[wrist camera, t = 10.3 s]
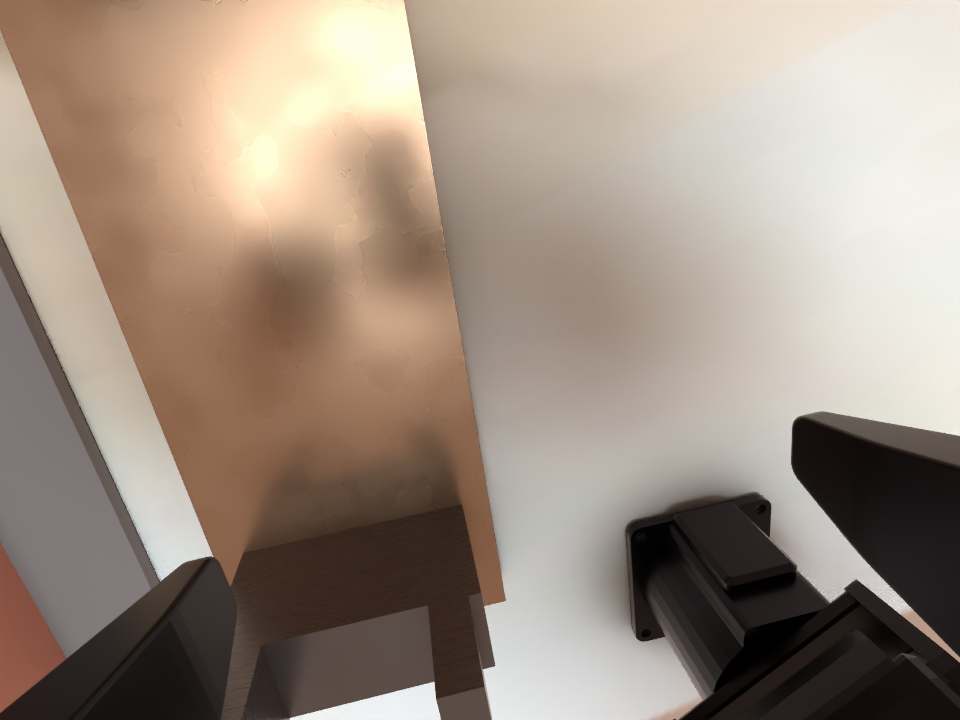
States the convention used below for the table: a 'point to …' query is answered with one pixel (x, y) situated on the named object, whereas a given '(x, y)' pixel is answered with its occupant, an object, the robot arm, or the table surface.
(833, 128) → the table surface
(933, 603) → the robot arm
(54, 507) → the slate mat
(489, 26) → the table surface
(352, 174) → the rail rack
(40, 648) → the rail
